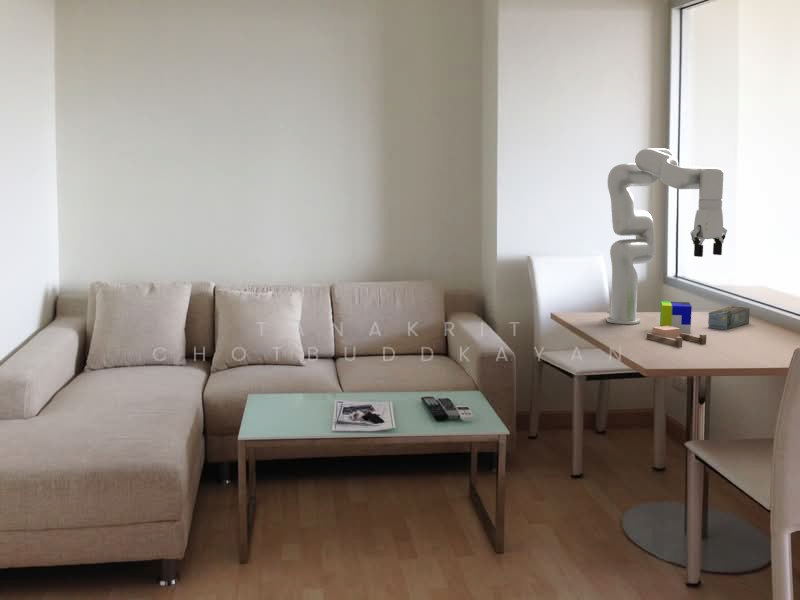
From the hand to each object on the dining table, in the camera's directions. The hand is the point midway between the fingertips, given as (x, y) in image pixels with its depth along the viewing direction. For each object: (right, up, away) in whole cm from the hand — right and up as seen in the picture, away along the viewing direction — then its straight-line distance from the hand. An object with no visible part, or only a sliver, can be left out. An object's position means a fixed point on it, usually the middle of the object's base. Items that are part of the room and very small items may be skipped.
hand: (707, 255), depth 325 cm
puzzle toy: (-4, -27, +25) cm, 37 cm away
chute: (-9, -29, +6) cm, 31 cm away
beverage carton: (+19, -25, +36) cm, 48 cm away
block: (-11, -29, +11) cm, 33 cm away
